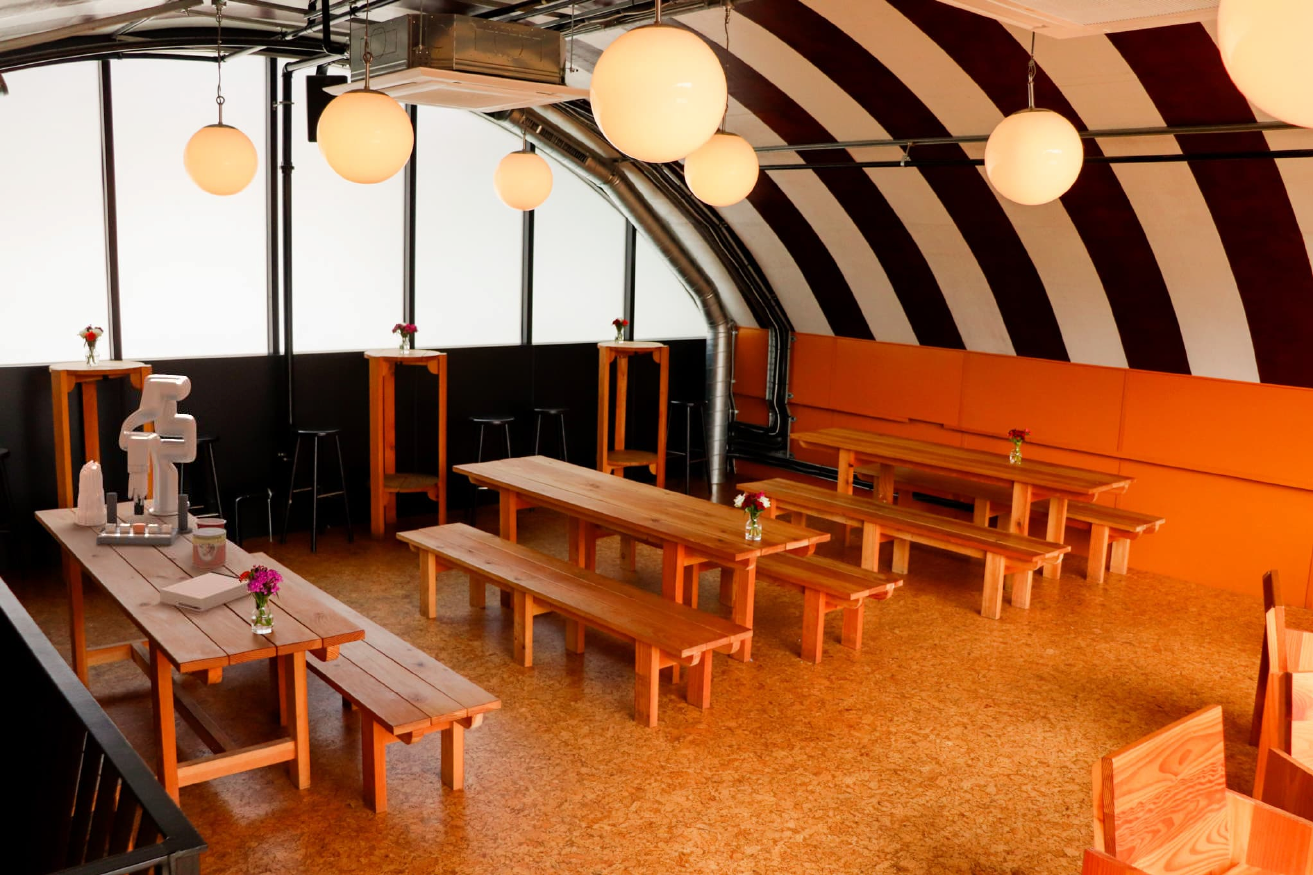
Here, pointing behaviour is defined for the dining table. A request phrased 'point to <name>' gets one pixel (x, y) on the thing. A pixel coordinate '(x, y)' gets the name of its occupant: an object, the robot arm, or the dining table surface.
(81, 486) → the white ridged tapered column
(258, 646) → the dining table surface
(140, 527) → the block
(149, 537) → the breaker panel
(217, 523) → the plastic cup
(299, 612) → the dining table surface
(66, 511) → the dining table surface
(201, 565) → the canned food
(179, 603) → the disc drive
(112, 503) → the knob
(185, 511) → the post
